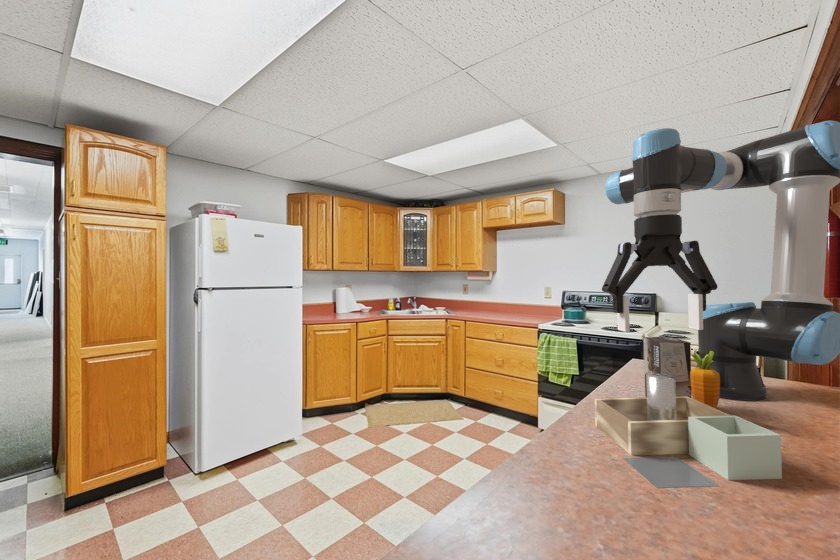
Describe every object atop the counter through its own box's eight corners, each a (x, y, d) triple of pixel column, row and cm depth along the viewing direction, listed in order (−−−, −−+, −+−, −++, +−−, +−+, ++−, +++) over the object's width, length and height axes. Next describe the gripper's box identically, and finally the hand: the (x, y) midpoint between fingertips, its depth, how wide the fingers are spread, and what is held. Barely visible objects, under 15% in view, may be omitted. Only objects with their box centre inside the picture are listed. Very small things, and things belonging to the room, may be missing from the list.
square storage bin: (736, 456, 64) (735, 415, 64) (781, 482, 56) (780, 435, 56) (689, 458, 64) (688, 416, 64) (728, 483, 56) (727, 436, 56)
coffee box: (693, 416, 82) (692, 342, 82) (661, 415, 83) (659, 342, 83) (673, 402, 91) (671, 336, 91) (644, 401, 92) (642, 335, 92)
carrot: (689, 423, 78) (687, 351, 78) (693, 417, 82) (691, 347, 82) (719, 429, 75) (718, 354, 75) (722, 422, 79) (720, 350, 78)
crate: (687, 425, 77) (687, 396, 77) (742, 455, 64) (741, 420, 64) (595, 428, 77) (594, 398, 77) (631, 458, 64) (630, 423, 64)
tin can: (666, 435, 73) (664, 373, 73) (683, 445, 68) (681, 379, 68) (642, 435, 73) (641, 373, 73) (657, 446, 68) (656, 380, 68)
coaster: (676, 460, 63) (676, 456, 63) (719, 490, 54) (719, 485, 54) (622, 461, 63) (622, 458, 63) (657, 491, 54) (657, 487, 54)
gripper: (600, 214, 67) (603, 334, 67) (740, 211, 67) (743, 330, 67) (581, 220, 74) (584, 328, 74) (707, 217, 75) (710, 325, 75)
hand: (659, 330), depth 71 cm, fingers open, 13 cm apart
